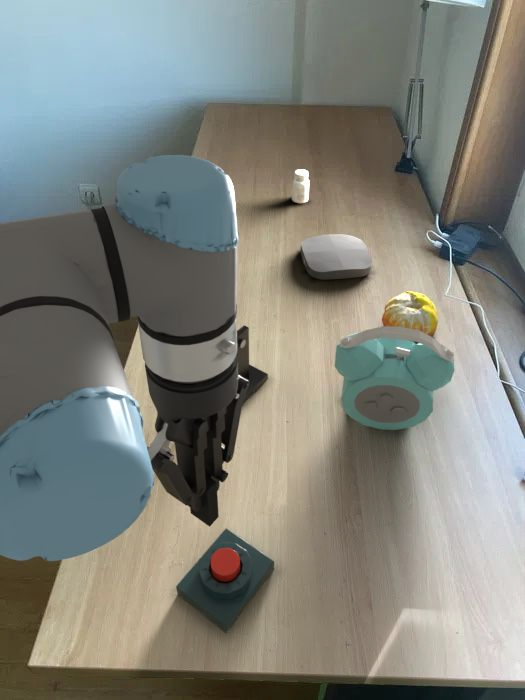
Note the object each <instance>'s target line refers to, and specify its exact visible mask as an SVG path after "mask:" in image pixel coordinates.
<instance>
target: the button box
mask: <svg viewBox="0 0 525 700" xmlns="http://www.w3.org/2000/svg"><path fill="white" fill-rule="evenodd" d="M222 548H230V549H232V550H234V551H235V552H236V553H237V554H238V556H239V558H240V572H239V574H238V576H237V577H236V578H235V579H234V580H232V581H229V582H221V581H218V580H217V579H215V577H214V576H213V574H212V572H211V558H212V556H213V554H214V553H215V552H216V551H217V550H219V549H222ZM274 570H275V560H274V559H272V558H271V557H269V555H266V554H264V552H262V551H260V550H259V549H258V548H256V547H255V546H253V545H252V544H250V543H249V542H247V541H246V540H244V539H243V538H242V537H240V536H238V535H237V534H236V533H234V532H233V531H232V530H230V529H228V528H227V527H226V528H224V530H223V531H222V533H221V534H219V536H218V537H217V538H216V539H215V541H213V543H212V544H211V545H210V546H209V548H207V550H206V551H205V552H204V553H203V554H202V556H201V557H200V558H199V559H198V560H197V562H195V564H194V565H193V566H192V567H191V568H190V569H189V571H188V572H187V573H186V574H185V575H184V577H182V579H181V580H180V581H179V582H178V584H177V585H176V586H175V588H176V594H177V596H178V597H180V598H182V599H183V600H184V601H185V602H186V603H188V604H189V605H190V606H192V608H194V610H196V611H198V612H199V613H200V614H202V615H203V616H204V617H205V618H206V619H208V620H209V621H210V622H212V623H213V624H214V625H215V626H217V627H218V628H219V629H220V630H222V631H223V632H225V634H227V633H229V631H230V630H231V628H232V626H233V625H234V624H235V623H236V621H237V620H238V619H239V617H240V616H241V615H242V613H243V612H244V611H245V609H246V608H247V607H248V605H249V604H250V602H251V601H252V600H253V598H255V596H256V594H257V593H258V592H259V590H260V589H261V588H262V586H263V585H264V584H265V582H266V581H267V580H268V578H269V577H270V576H271V574H272V573H273V572H274Z"/></svg>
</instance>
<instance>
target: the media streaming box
mask: <svg viewBox="0 0 525 700" xmlns="http://www.w3.org/2000/svg"><path fill="white" fill-rule="evenodd" d="M300 256H301V260H302V262H303V265H304V268H305V271H306V272H307V274H308V275H309V276H310V277H312V278H313V279H314V278H315V279H318V280H340V279H352V278H362V277H365V276H368V275H369V274H370V273H371V271H372V266H373V259H372V256H371V253H370V251H369V248H368V247H367V245H366V244H365V242H364V241H363V240H362V239H361V238H358V237H356V236H354V235H350V234H343V233H342V234H340V233H329V234H320V235H313V236H310V237H308V238H305V239H304V240H303V241H302V242H301V243H300Z"/></svg>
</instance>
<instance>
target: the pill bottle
mask: <svg viewBox="0 0 525 700" xmlns="http://www.w3.org/2000/svg"><path fill="white" fill-rule="evenodd" d="M309 195H310V179H309V171H308V170H306V169H304V168H303V169H302V168H301V169H296V170H295V171H294V178H293V179H292V185H291V200H292V202H294V203H297V204H305V203H307V202H308V201H309Z"/></svg>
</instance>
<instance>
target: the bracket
mask: <svg viewBox="0 0 525 700" xmlns="http://www.w3.org/2000/svg"><path fill="white" fill-rule="evenodd" d="M237 330H238V331H237V356H238V375H239V376H241V377H243V378H245V379H246V380H248V381H249V382H250V383H249V387H248V389H247V392H246V395H245V397H244V400H243V403H245V402H246V401H247V400H248V399H250V397H251V396H252V395H253V394H254V393H255V392H256V391H257V390H258V389H259V388H260V387H261V386H262V385H263V384H264V383H265V382H266V381H267V380H268V379H269V373H267V372H265V371H263V370H261V369H259V368H258V367H255V366H253V365H251V364H250V328H249V326H247V325H244V324H243V325H242V326H241V327H240V328H239V329H237Z"/></svg>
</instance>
